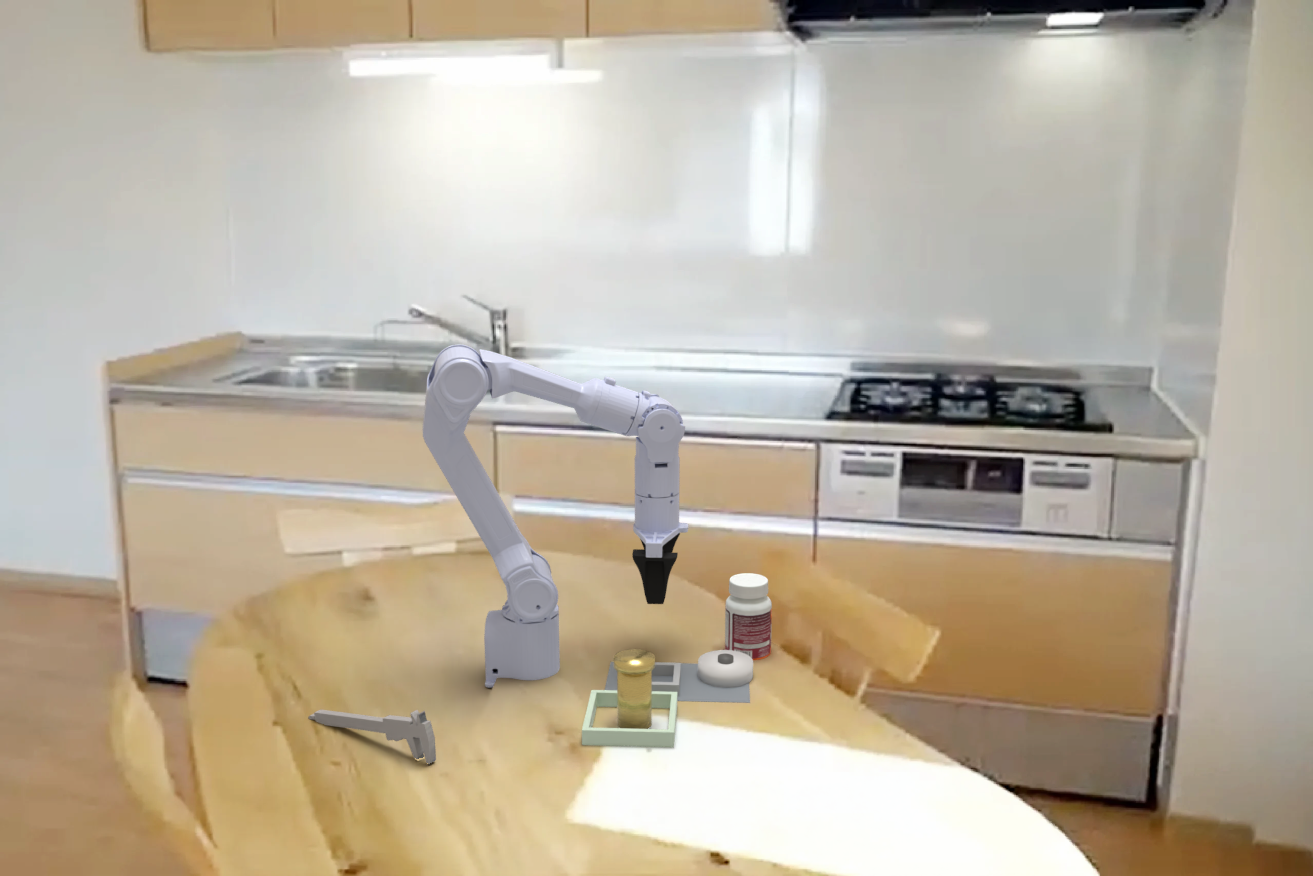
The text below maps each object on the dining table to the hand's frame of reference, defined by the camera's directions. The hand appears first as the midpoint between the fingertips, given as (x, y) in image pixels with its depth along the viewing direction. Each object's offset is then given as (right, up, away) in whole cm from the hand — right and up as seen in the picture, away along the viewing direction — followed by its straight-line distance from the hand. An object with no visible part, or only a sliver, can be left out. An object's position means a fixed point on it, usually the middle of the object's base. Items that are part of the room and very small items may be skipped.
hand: (657, 592), depth 160 cm
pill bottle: (+12, -10, +5) cm, 16 cm away
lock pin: (-3, -14, -16) cm, 21 cm away
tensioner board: (+3, -12, -4) cm, 13 cm away
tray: (-3, -15, -16) cm, 22 cm away
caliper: (-33, -15, -17) cm, 40 cm away
